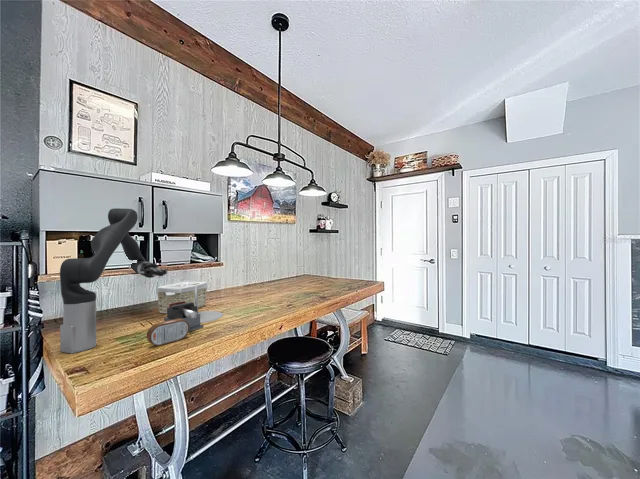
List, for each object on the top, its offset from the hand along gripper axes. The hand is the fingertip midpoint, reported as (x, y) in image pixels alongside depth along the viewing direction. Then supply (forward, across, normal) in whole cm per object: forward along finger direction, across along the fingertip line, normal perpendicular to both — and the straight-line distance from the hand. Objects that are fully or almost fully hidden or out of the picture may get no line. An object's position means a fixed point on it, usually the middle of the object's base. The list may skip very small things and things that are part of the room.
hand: (161, 274), depth 134 cm
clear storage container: (-17, +20, +24) cm, 36 cm away
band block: (+20, +3, +22) cm, 30 cm away
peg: (+22, +2, +17) cm, 28 cm away
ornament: (+9, +22, +22) cm, 32 cm away
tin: (+32, -8, +22) cm, 40 cm away
